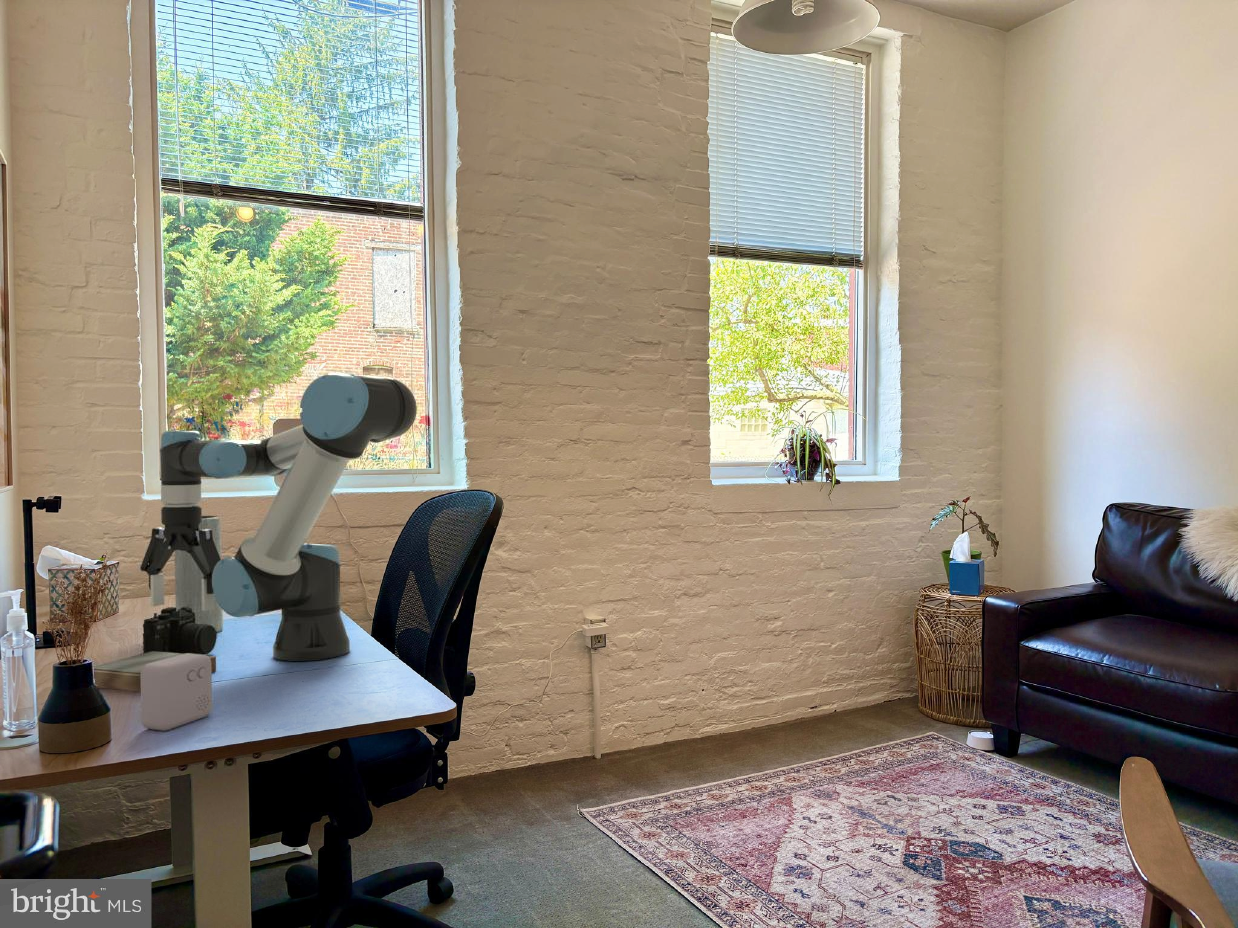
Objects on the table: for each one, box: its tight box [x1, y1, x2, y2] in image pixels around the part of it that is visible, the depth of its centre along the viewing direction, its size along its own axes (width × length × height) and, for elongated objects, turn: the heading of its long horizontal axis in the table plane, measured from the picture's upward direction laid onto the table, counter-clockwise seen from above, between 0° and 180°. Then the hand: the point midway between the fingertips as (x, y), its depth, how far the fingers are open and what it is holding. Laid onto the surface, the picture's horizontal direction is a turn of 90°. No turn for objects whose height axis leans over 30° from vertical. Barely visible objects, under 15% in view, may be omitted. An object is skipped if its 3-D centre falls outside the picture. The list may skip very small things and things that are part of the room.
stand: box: [93, 651, 217, 693], centre depth 169 cm, size 16×16×3 cm
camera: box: [142, 606, 218, 655], centre depth 187 cm, size 14×11×10 cm
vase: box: [174, 515, 224, 633], centre depth 212 cm, size 10×10×27 cm
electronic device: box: [140, 653, 213, 732], centre depth 141 cm, size 10×5×10 cm, turn 158°
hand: (182, 607), depth 187 cm, fingers open, 13 cm apart
